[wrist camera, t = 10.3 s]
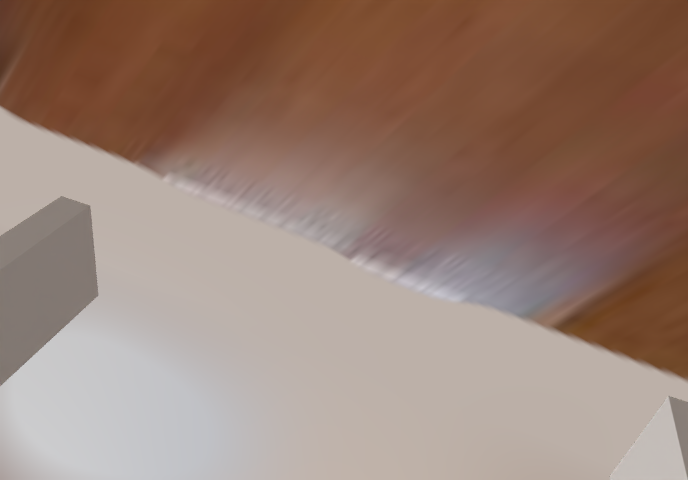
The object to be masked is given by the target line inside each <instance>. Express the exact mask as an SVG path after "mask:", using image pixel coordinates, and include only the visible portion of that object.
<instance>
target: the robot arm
mask: <svg viewBox="0 0 688 480" xmlns="http://www.w3.org/2000/svg"><path fill="white" fill-rule="evenodd" d="M96 276H97V275H96V265H95V254H94V244H93V232H92V220H91V210H90V206H89V205H86V204H83V203H80V202H77V201H74V200H71V199H68V198H65V197H62V196H61V197H60V198H58V199H57V200H55V201H53V202H52V203H50V204H49V205H47V206H46V207H44V208H43V209H41V210H40V211H38V212H37V213H35V214H34V215H32V216H30V217H29V218H28V219H26V220H24V221H23V222H21V223H20V224H18V225H17V226H15V227H14V228H12V229H11V230H9V231H7V232H6V233H4V234H3V235H1V236H0V386H1V385H2V384H3V383H4V382H5V381H6V380H7V379H8V378H9V377H11V376H12V375H13V374H14V373H15V372H16V371H17V370H18V369H19V368H20V367H21V366H22V365H24V364H25V363H26V362H27V361H28V360H29V359H30V358H31V357H32V356H33V355H34V354H35V353H36V352H38V351H39V350H40V349H41V348H42V347H43V346H44V345H45V344H46V343H47V342H48V341H50V340H51V339H52V338H53V337H54V336H55V335H56V334H57V333H58V332H59V331H60V330H61V329H62V328H64V327H65V326H66V325H67V324H68V323H69V322H70V321H71V320H72V319H73V318H74V317H75V316H76V315H78V314H79V313H80V312H81V311H82V310H83V309H84V308H85V307H86V306H87V305H88V304H90V303H91V301H93V300H94V299H95V298H96V297H97V296H98V287H97V277H96ZM610 480H688V402H685V401H682V400H679V399H676V398H673V397H670V396H668V397H667V398H666V400H665V401H664V403H663V404H662V405H661V407H660V408H659V409H658V411H657V412H656V414H655V415H654V416H653V418H652V419H651V421H650V422H649V423H648V425H647V426H646V427H645V429H644V430H643V431H642V433H641V434H640V435H639V437H638V438H637V440H636V441H635V442H634V444H633V445H632V446H631V448H630V449H629V451H628V452H627V453H626V455H625V456H624V457H623V459H622V460H621V461H620V463H619V464H618V466H617V467H616V468H615V470H614V471H613V472H612V474H611V475H610Z"/></svg>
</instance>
